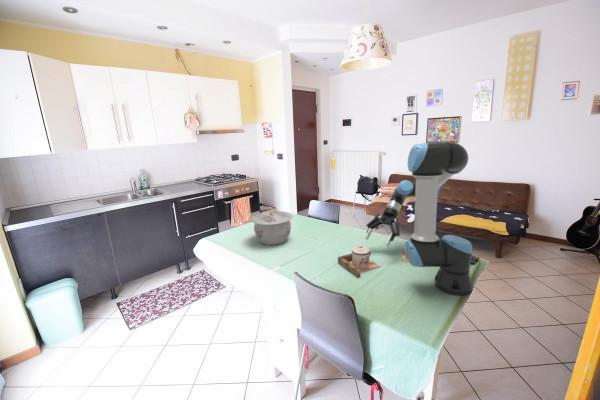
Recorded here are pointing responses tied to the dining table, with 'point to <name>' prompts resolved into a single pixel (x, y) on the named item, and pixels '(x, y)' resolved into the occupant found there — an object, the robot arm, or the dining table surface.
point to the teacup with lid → (360, 257)
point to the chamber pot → (272, 227)
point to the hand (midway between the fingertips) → (376, 242)
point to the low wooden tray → (348, 265)
